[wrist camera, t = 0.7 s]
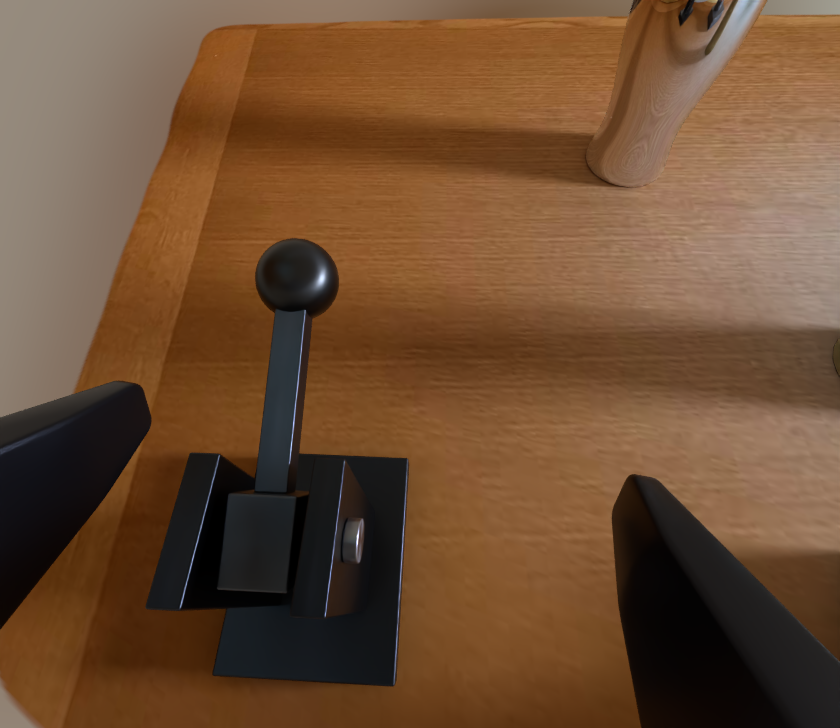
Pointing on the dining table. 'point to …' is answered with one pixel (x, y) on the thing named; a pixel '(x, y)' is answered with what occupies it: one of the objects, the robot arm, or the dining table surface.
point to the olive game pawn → (837, 356)
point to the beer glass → (664, 80)
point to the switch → (278, 425)
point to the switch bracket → (298, 572)
